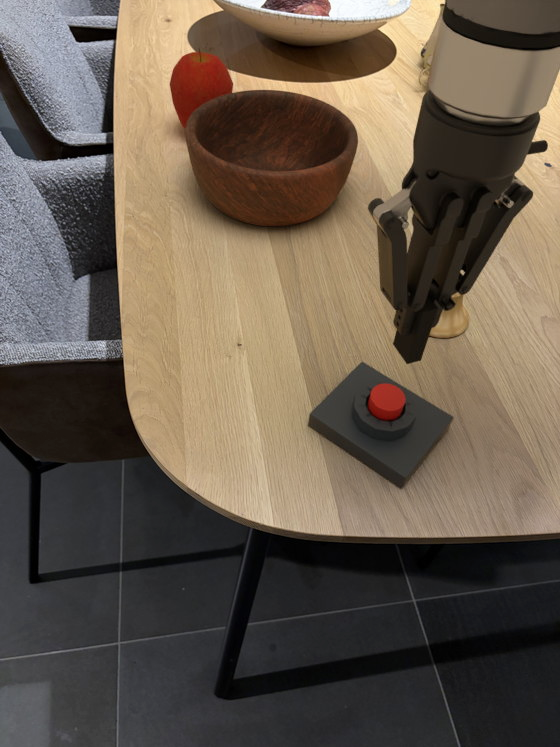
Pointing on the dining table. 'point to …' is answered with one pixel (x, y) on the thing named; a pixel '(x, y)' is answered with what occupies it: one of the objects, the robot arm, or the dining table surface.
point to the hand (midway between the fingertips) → (406, 351)
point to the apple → (198, 82)
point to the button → (386, 402)
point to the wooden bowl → (270, 155)
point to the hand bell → (452, 320)
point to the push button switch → (380, 426)
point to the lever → (538, 147)
